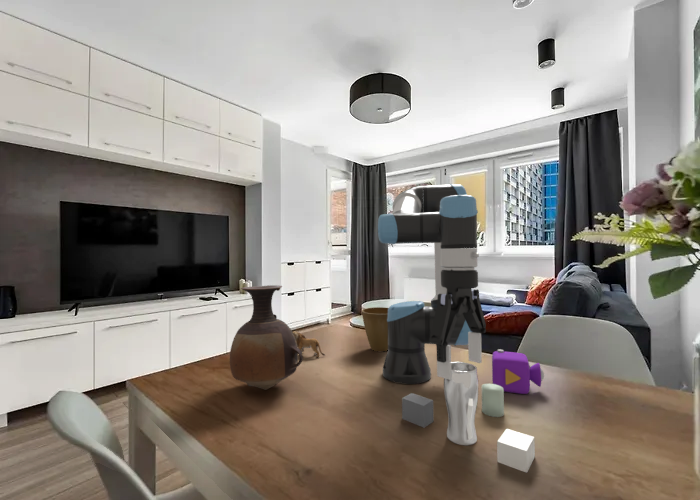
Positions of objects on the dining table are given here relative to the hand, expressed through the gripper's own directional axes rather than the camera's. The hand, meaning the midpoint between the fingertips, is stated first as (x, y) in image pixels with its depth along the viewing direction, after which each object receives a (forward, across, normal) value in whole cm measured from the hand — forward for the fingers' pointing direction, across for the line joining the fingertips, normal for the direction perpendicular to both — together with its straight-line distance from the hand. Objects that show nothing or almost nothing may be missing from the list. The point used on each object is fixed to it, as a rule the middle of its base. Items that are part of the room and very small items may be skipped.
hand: (460, 369), depth 72 cm
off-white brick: (+15, 0, -11) cm, 18 cm away
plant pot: (+14, +39, +55) cm, 69 cm away
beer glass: (+15, 0, 0) cm, 15 cm away
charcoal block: (+15, 0, +11) cm, 18 cm away
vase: (+15, -15, +54) cm, 58 cm away
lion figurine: (+14, +14, +71) cm, 74 cm away
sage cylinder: (+14, +16, 0) cm, 22 cm away
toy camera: (+15, +35, +1) cm, 38 cm away
